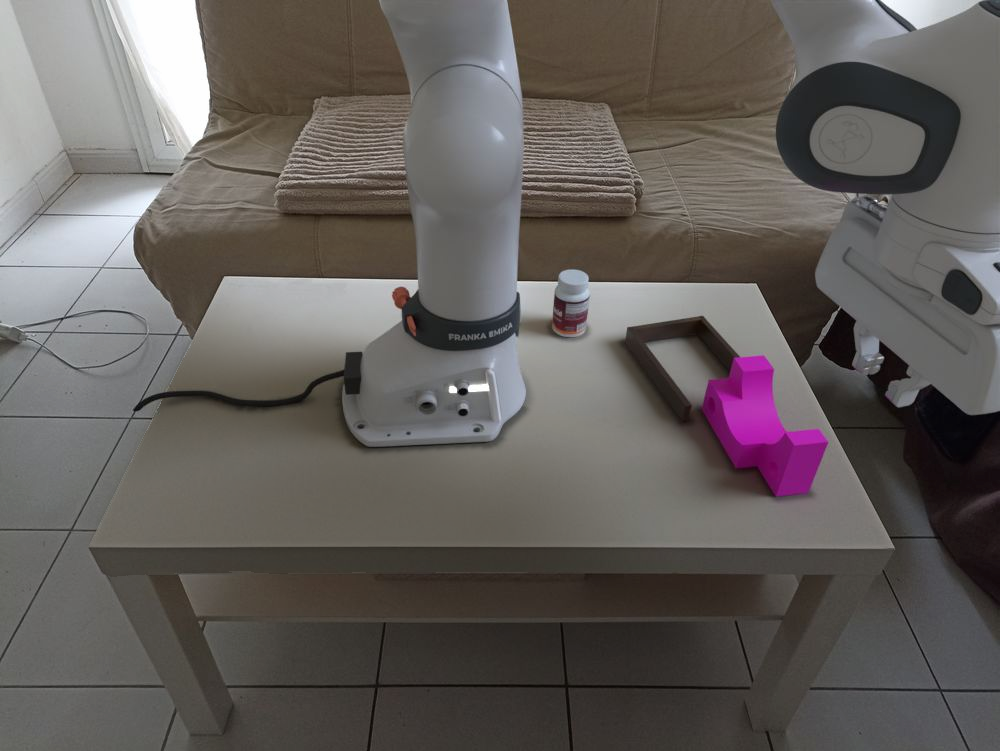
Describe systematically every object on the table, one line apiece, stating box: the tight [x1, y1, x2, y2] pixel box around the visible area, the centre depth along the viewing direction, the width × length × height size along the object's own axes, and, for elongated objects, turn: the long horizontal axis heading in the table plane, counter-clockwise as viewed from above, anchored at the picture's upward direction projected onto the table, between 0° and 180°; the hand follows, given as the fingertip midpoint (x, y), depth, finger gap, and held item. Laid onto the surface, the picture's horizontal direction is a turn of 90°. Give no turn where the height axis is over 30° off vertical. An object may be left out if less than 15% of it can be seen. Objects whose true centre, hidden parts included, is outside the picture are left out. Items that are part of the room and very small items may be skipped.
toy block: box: [701, 354, 829, 498], centre depth 84 cm, size 15×6×8 cm, turn 9°
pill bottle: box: [551, 268, 591, 338], centre depth 102 cm, size 5×5×8 cm
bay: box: [624, 315, 741, 422], centre depth 97 cm, size 11×17×2 cm
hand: (880, 385), depth 65 cm, fingers open, 3 cm apart
